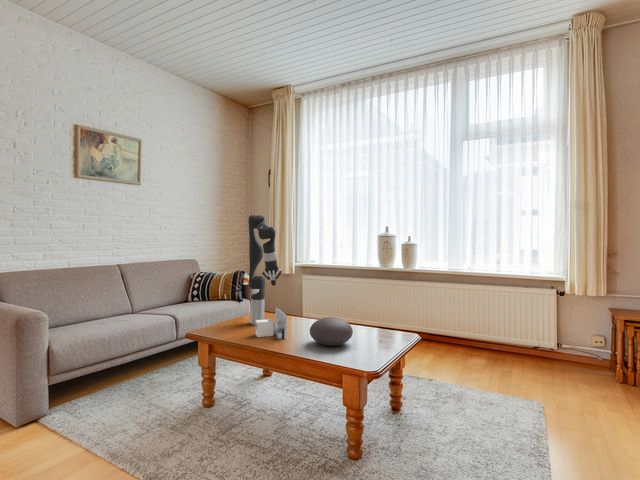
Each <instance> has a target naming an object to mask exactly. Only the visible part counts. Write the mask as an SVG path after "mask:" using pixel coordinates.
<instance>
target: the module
mask: <svg viewBox="0 0 640 480" xmlns="http://www.w3.org/2000/svg"><path fill="white" fill-rule="evenodd" d="M274 325H275V320H273V319H272V318H267V319H264V320H256V323H255V325H254V328H255V336H256V337H257V338H263V337H264V338H265V336H266V337H274V336H275V334H274Z"/></svg>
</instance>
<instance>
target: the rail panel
mask: <svg viewBox="0 0 640 480" xmlns="http://www.w3.org/2000/svg"><path fill="white" fill-rule="evenodd" d="M274 312H275V314H274V315H275V318H274V319H275V320H274V336H275V337H276V338H277V339H278V340H282V339H284V340H287V335H288V334H287V331H288V330H287V327H288V326H287V324H288V322H287V318H288V317H287V314H285V313H284V312H283V310H281V309H279V308H278V307H275V311H274Z"/></svg>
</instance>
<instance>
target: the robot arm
mask: <svg viewBox="0 0 640 480" xmlns="http://www.w3.org/2000/svg"><path fill="white" fill-rule="evenodd" d="M247 220H248V224H247V225H248V237H249V239H248V241H249V243H248V244H249V246H248V249H249V250H248V257H249V260H248V261H249V274H248V286H249V289H251V290H258V292H256V293H253V294H251V296H250V325H254V326H255V323H256V320H265V292H266V289H265V287H266V279H267V280H269V281H270V284H271V286H272V287H274V286H276V285H277V281H276V280H279V277H280V276H281V274H282V272H283V270H282V269H279V268H280V267H279V266H278V261H277V253H276V249H275V248H276V247H275V240H276V235H277V233H276V231H277V230H276V229H275V227H274V226H269V225H268V223H267V221H266V218H265V216H263V215H255V214H254V215H252V214H251V215H249V216H248V219H247ZM255 229H257V231H258V232H257V234H258V237H257V236H256V233H255ZM258 238H259V239H260V240H268V241H266V242H264V243H263V244H261V242H260V241H259V239H258ZM262 260H264V266H265V267H264V271H262V272H261V275H255V273H256V270H257V268H258V266H259V265H260V263H261V262H262ZM277 273H278V274H277ZM276 274H277V275H276Z"/></svg>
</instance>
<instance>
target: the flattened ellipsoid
mask: <svg viewBox="0 0 640 480" xmlns="http://www.w3.org/2000/svg"><path fill="white" fill-rule="evenodd" d="M353 331H354V330H353V328H352V325H351V324H350V323H349V322H348V321H347V320H345V319H342V318H340V317H333V316H329V317H327V316H326V317H322V318H319V319H317V320H316V321H314V322H313V323H312V324H311V326H310V327H309V335H310V337H311V338H312V340H314V341H315V342H316V343H318V344H321V345H324V346H329V347H330V346H331V347H333V346H335V347H336V346H340V345H342V344H346V343H347V342H349V340H351V339H352V337H353V333H354V332H353Z"/></svg>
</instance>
